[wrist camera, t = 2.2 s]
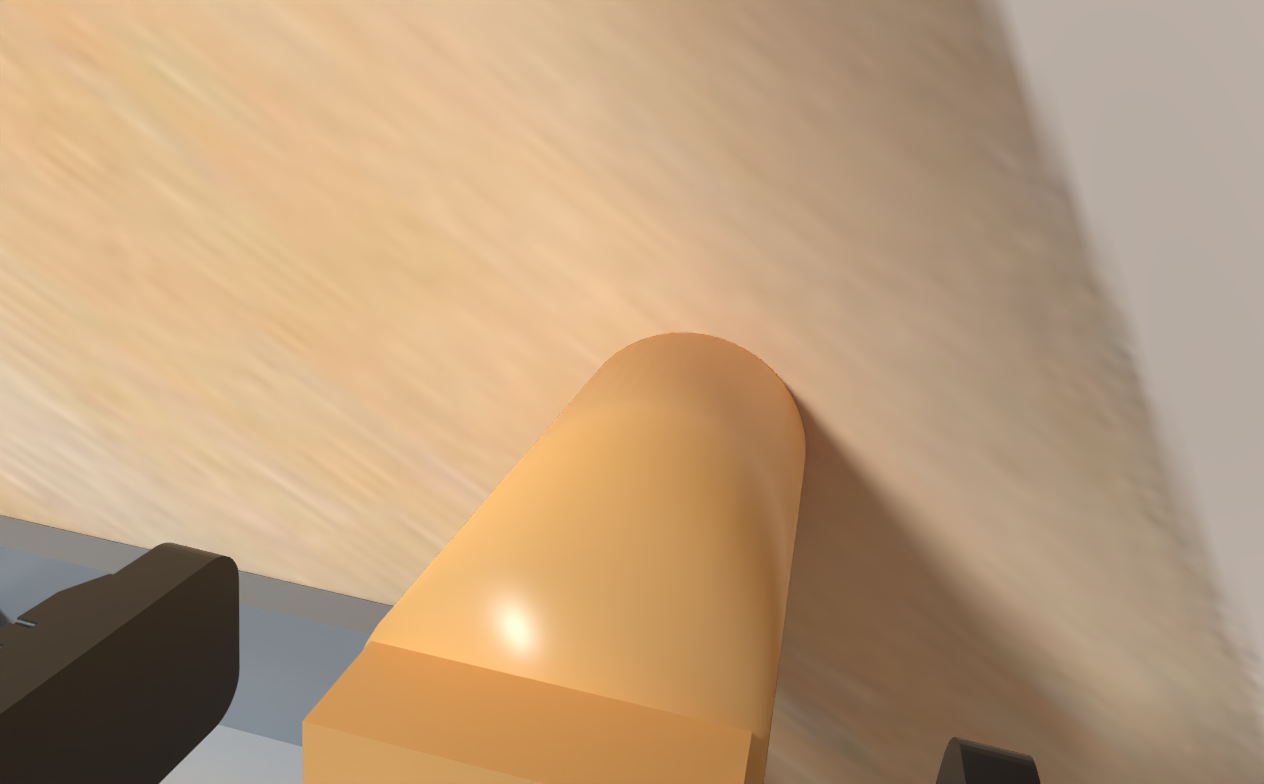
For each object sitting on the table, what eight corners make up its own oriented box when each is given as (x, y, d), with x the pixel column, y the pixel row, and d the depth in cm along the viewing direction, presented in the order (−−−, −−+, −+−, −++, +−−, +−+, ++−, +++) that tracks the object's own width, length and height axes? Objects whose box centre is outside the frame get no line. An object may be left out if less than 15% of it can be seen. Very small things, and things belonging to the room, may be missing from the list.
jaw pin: (585, 314, 16) (277, 589, 7) (825, 355, 15) (789, 708, 7) (564, 526, 17) (284, 963, 9) (783, 572, 17) (710, 1094, 8)
